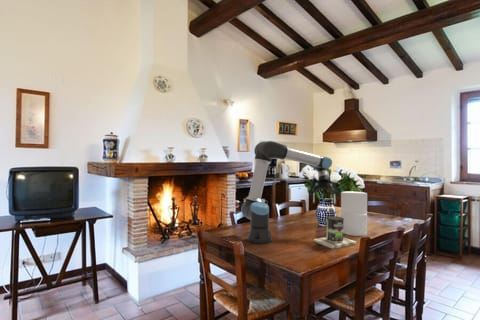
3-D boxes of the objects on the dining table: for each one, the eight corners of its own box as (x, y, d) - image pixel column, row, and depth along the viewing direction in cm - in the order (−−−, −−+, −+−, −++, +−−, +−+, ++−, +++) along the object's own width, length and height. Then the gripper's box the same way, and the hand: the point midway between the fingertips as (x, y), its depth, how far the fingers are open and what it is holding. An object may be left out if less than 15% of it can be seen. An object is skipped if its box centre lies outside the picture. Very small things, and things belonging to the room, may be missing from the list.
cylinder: (339, 228, 218) (340, 191, 217) (364, 230, 213) (365, 191, 213) (341, 234, 201) (342, 194, 201) (368, 236, 197) (369, 195, 196)
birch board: (332, 248, 170) (332, 246, 170) (313, 241, 184) (313, 239, 184) (356, 244, 180) (356, 241, 180) (336, 237, 194) (336, 235, 194)
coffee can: (346, 242, 178) (347, 219, 178) (332, 243, 176) (332, 220, 175) (337, 237, 188) (337, 215, 188) (322, 238, 186) (323, 216, 185)
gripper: (341, 182, 210) (343, 206, 196) (305, 180, 216) (305, 204, 201) (342, 175, 205) (344, 200, 190) (305, 174, 210) (305, 197, 196)
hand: (324, 202), depth 196 cm, fingers open, 13 cm apart
